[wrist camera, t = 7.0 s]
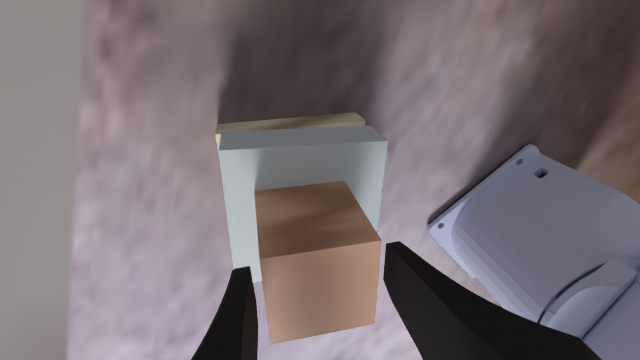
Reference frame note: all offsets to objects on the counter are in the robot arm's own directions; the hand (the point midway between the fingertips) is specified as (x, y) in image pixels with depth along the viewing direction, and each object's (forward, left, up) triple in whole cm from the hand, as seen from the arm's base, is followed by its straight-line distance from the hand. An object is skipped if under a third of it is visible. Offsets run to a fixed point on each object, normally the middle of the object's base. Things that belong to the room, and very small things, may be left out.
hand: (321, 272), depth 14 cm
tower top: (0, 0, -6) cm, 7 cm away
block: (0, 0, -4) cm, 4 cm away
